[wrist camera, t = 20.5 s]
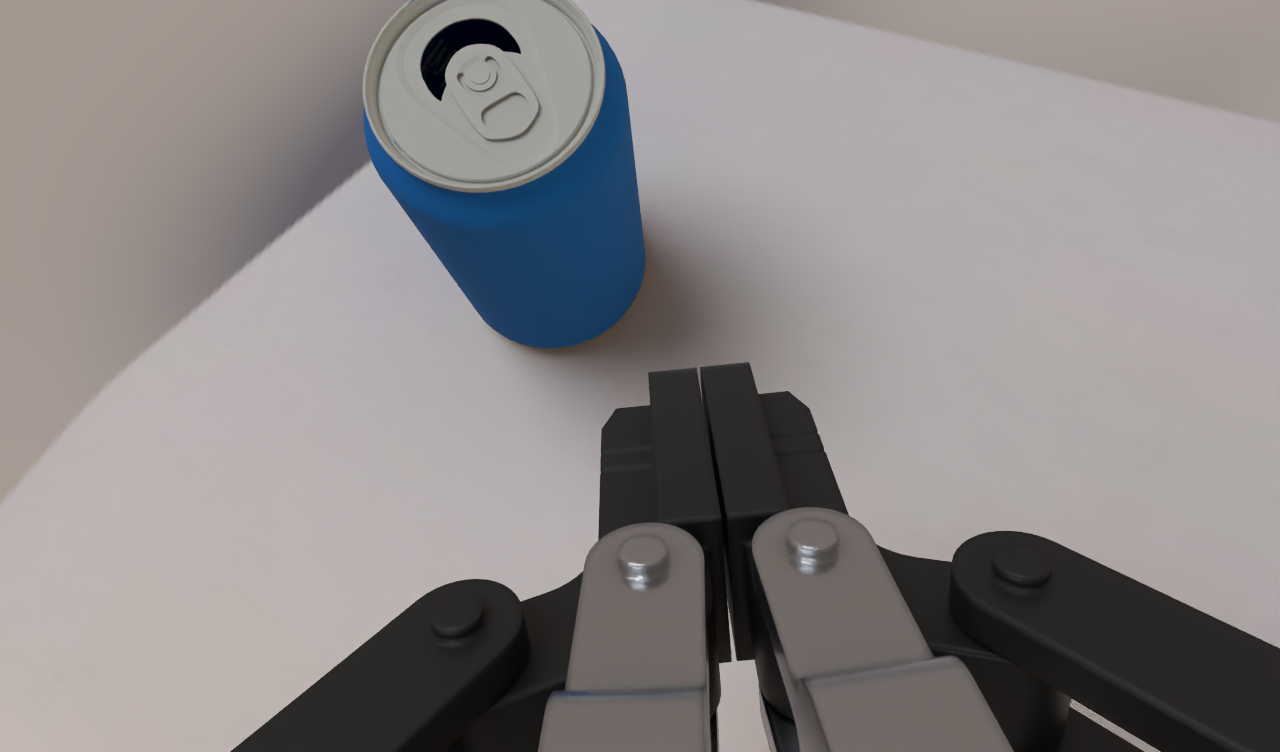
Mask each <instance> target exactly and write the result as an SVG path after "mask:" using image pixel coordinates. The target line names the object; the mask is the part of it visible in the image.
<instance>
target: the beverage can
mask: <svg viewBox="0 0 1280 752" xmlns="http://www.w3.org/2000/svg"><path fill="white" fill-rule="evenodd" d="M363 101H364V132H365V138H366V143H367V148H368V151H369V154H370V157H371V159H372V162H373V164H374V166H375V168H376V170H377V172H378V174H379V176H380V177H381V179H382V180H383V182H384V183H385V184H386V186H387V187H388V188H389V190H390V191H391V193H392V194H393V195H394V197H395V198H396V200H397V201H398V202H399V204H400V205H401V207H402V208H403V209H404V211H405V212H406V213H407V215H408V216H409V218H410V219H411V220H412V222H413V223H414V225H415V226H416V227H417V229H418V230H419V232H420V233H421V234H422V236H423V237H424V238H425V240H426V241H427V243H428V244H429V245H430V247H431V248H432V250H433V251H434V252H435V254H436V255H437V256H438V258H439V259H440V261H441V262H442V263H443V265H444V266H445V268H446V269H447V270H448V272H449V273H450V275H451V276H452V277H453V279H454V280H455V281H456V283H457V284H458V286H459V287H460V288H461V290H462V291H463V293H464V294H465V295H466V297H467V298H468V300H469V301H470V302H471V304H472V305H473V306H474V308H475V309H476V311H477V312H478V313H479V315H480V316H481V317H482V319H483V320H484V321H485V322H486V323H487V324H488V325H489V326H490V327H492V328H493V329H494V330H496V331H497V332H498V333H500V334H501V335H503V336H505V337H507V338H508V339H510V340H513V341H515V342H518V343H520V344H524V345H528V346H532V347H539V348H562V347H569V346H573V345H577V344H581V343H583V342H586V341H588V340H591V339H593V338H595V337H597V336H598V335H600V334H602V333H604V332H605V331H606V330H608V329H609V328H610V327H612V326H613V325H614V324H615V323H616V322H617V321H618V320H619V319H620V318H621V317H622V316H623V315H624V314H625V313H626V311H627V310H628V309H629V307H630V306H631V304H632V303H633V301H634V299H635V298H636V295H637V293H638V291H639V289H640V286H641V283H642V279H643V275H644V268H645V249H644V240H643V231H642V222H641V213H640V204H639V195H638V187H637V178H636V169H635V160H634V151H633V142H632V133H631V124H630V115H629V107H628V98H627V90H626V83H625V79H624V76H623V72H622V69H621V66H620V64H619V62H618V60H617V58H616V55H615V53H614V52H613V50H612V49H611V47H610V46H609V44H608V42H607V41H606V39H605V38H604V37H603V36H602V35H601V33H600V32H599V31H598V30H597V29H596V28H595V27H594V26H593V25H592V24H591V23H590V22H589V20H588V19H587V17H586V16H585V14H584V13H583V12H582V11H581V10H580V9H579V8H578V6H577V5H576V4H575V3H573V2H572V1H571V0H409V1H408V2H406V3H405V4H404V5H403V6H402V7H400V8H399V9H398V10H397V11H396V12H395V13H394V14H393V15H392V17H390V19H389V20H388V21H387V22H386V24H385V25H384V26H383V28H382V29H381V30H380V32H379V34H378V36H377V37H376V39H375V41H374V43H373V45H372V47H371V50H370V52H369V55H368V58H367V61H366V65H365V69H364V76H363Z"/></svg>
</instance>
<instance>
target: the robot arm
mask: <svg viewBox="0 0 1280 752" xmlns="http://www.w3.org/2000/svg"><path fill="white" fill-rule="evenodd" d="M648 375H649V391H650V405H648V406H638V407H628V408H618V409H616V410H615V411H614V413H613V414H612V415H611V417H610V418H609V420H608V421H607V423H606V424H605V425H604V427H603V428H602V436H601V474H600V505H599V540H598V542H597V543H596V544H595V545H594V546H593V547H592V548H591V550H590V551H589V553H588V555H587V557H586V561H585V565H584V571H583V572H582V573H581V574H579V575H578V576H577V577H576V578H574V579H573V580H572V581H570V582H569V583H567V584H565V585H563V586H561V587H559V588H557V589H555V590H552V591H550V592H547V593H545V594H542V595H539V596H536V597H533V598H530V599H527V600H524V601H521V602H520V600H519V599H518V597H517V596H516V594H515V593H514V592H513V591H512V590H511V589H509V588H508V587H506V586H505V585H503V584H500V583H498V582H495V581H490V580H483V579H470V580H462V581H456V582H453V583H449V584H446V585H444V586H441V587H439V588H436V589H434V590H433V591H431V592H429V593H427V594H426V595H424V596H423V597H421V598H420V599H419V600H417V601H416V602H415V603H413V604H412V605H411V606H410V607H409V608H407V609H406V610H405V611H404V612H402V613H401V614H400V615H399V616H397V617H396V618H395V619H394V620H392V621H391V622H390V623H389V624H388V625H386V626H385V627H384V628H383V629H381V630H380V631H379V632H378V633H376V634H375V635H374V636H373V637H371V638H370V639H369V640H368V641H367V642H365V643H364V644H363V645H362V646H360V647H359V648H358V649H357V650H355V651H354V652H353V653H352V654H350V655H349V656H348V657H347V658H346V659H344V660H343V661H342V662H341V663H339V664H338V665H337V666H336V667H334V668H333V669H332V670H331V671H329V672H328V673H327V674H326V675H325V676H323V677H322V678H321V679H320V680H318V681H317V682H316V683H315V684H313V685H312V686H311V687H310V688H308V689H307V690H306V691H305V692H304V693H302V694H301V695H300V696H299V697H297V698H296V699H295V700H294V701H292V702H291V703H290V704H289V705H287V706H286V707H285V708H284V709H283V710H281V711H280V712H279V713H278V714H276V715H275V716H274V717H273V718H271V719H270V720H269V721H268V722H266V723H265V724H264V725H263V726H262V727H260V728H259V729H258V730H257V731H255V732H254V733H253V734H252V735H250V736H249V737H248V738H247V739H245V740H244V741H243V742H242V743H241V744H239V745H238V746H237V747H236V748H234V749H233V750H232V751H231V752H719V729H718V712H717V707H718V705H719V702H720V697H721V684H720V672H719V663H724V662H732V660H731V646H730V633H729V619H728V607H729V613H730V620H731V626H732V633H733V639H734V646H735V652H736V659H737V661H742V660H753V659H755V663H756V669H757V674H758V680H759V697H760V712H761V718H762V721H763V725H764V729H765V733H766V736H767V740H768V744H769V748H770V751H771V752H1144V751H1142V750H1140V749H1139V748H1137V747H1135V746H1134V745H1132V744H1131V743H1129V742H1127V741H1126V740H1124V739H1122V738H1121V737H1119V736H1117V735H1116V734H1114V733H1112V732H1111V731H1109V730H1107V729H1106V728H1104V727H1102V726H1101V725H1099V724H1097V723H1096V722H1094V721H1092V720H1091V719H1089V718H1087V717H1086V716H1084V715H1083V714H1081V713H1079V712H1078V711H1076V710H1074V709H1073V708H1071V707H1070V702H1071V698H1072V699H1074V700H1075V701H1077V702H1079V703H1080V704H1082V705H1084V706H1085V707H1087V708H1089V709H1090V710H1092V711H1094V712H1095V713H1097V714H1099V715H1100V716H1102V717H1104V718H1105V719H1107V720H1109V721H1111V722H1112V723H1114V724H1116V725H1117V726H1119V727H1121V728H1122V729H1124V730H1126V731H1127V732H1129V733H1131V734H1132V735H1134V736H1136V737H1137V738H1139V739H1141V740H1142V741H1144V742H1146V743H1147V744H1149V745H1151V746H1152V747H1154V748H1156V749H1158V750H1159V751H1161V752H1280V648H1277V647H1275V646H1273V645H1271V644H1269V643H1267V642H1265V641H1263V640H1261V639H1258V638H1256V637H1254V636H1252V635H1250V634H1248V633H1246V632H1244V631H1242V630H1239V629H1237V628H1235V627H1233V626H1231V625H1229V624H1227V623H1225V622H1222V621H1220V620H1218V619H1216V618H1214V617H1212V616H1210V615H1208V614H1206V613H1203V612H1201V611H1199V610H1197V609H1195V608H1193V607H1191V606H1189V605H1187V604H1184V603H1182V602H1180V601H1178V600H1176V599H1174V598H1172V597H1170V596H1168V595H1165V594H1163V593H1161V592H1159V591H1157V590H1155V589H1153V588H1151V587H1149V586H1146V585H1144V584H1142V583H1140V582H1138V581H1136V580H1134V579H1132V578H1130V577H1127V576H1125V575H1123V574H1121V573H1119V572H1117V571H1115V570H1113V569H1111V568H1108V567H1106V566H1104V565H1102V564H1100V563H1098V562H1096V561H1094V560H1092V559H1089V558H1087V557H1085V556H1083V555H1081V554H1079V553H1077V552H1075V551H1073V550H1070V549H1068V548H1066V547H1064V546H1062V545H1060V544H1058V543H1056V542H1053V541H1051V540H1048V539H1046V538H1043V537H1040V536H1037V535H1033V534H1029V533H1023V532H1016V531H995V532H987V533H984V534H980V535H977V536H975V537H972V538H970V539H968V540H967V541H965V542H964V543H962V544H961V546H960V547H959V548H958V549H957V550H956V552H955V554H954V555H953V560H952V562H947V561H940V560H932V559H925V558H917V557H912V556H906V555H902V554H899V553H895V552H892V551H890V550H887V549H885V548H882V547H880V546H879V545H877V544H875V542H874V540H873V538H872V536H871V535H870V533H869V532H868V530H867V529H866V528H865V527H864V526H863V525H862V524H861V523H859V522H858V521H857V520H855V519H854V518H852V517H850V516H849V515H848V512H847V509H846V507H845V504H844V501H843V498H842V496H841V493H840V490H839V488H838V485H837V482H836V479H835V477H834V474H833V471H832V469H831V466H830V463H829V460H828V458H827V455H826V452H824V447H823V444H822V442H821V439H820V436H819V434H818V433H817V428H816V425H815V423H814V420H813V417H812V414H811V412H810V409H809V408H808V407H807V406H806V405H804V404H803V403H802V402H801V401H800V400H798V399H797V398H796V397H795V396H793V395H792V394H791V393H790V392H788V391H785V392H775V393H765V394H758V392H757V388H756V385H755V381H754V378H753V374H752V371H751V367H750V364H749V362H745V363H735V364H726V365H716V366H706V367H700V376H701V390H702V398H701V392H700V386H699V380H698V374H697V369H696V368H688V369H678V370H668V371H658V372H649V373H648ZM702 402H703V404H702ZM727 600H728V605H727Z"/></svg>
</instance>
